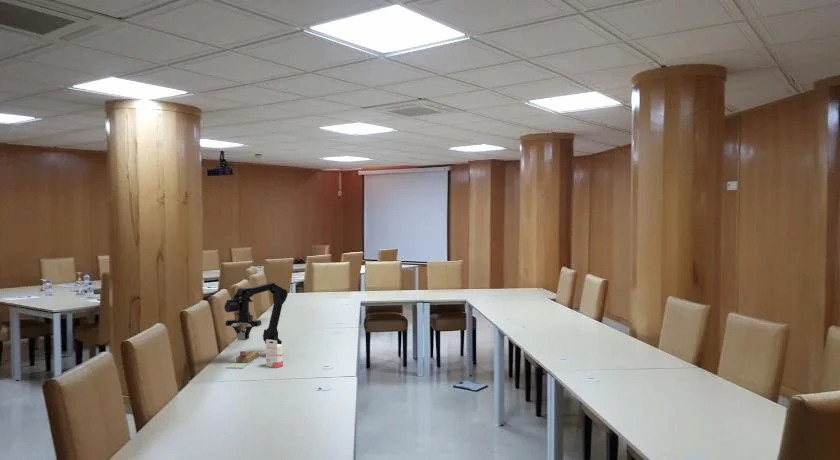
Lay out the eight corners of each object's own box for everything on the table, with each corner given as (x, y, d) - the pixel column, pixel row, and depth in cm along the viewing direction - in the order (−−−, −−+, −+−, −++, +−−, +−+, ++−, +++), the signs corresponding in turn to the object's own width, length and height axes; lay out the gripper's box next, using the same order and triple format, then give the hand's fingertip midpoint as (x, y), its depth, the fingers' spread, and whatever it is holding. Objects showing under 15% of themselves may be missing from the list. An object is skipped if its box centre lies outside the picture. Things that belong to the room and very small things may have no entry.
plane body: (258, 356, 332) (258, 346, 331) (247, 363, 316) (247, 352, 316) (246, 356, 332) (246, 346, 332) (235, 363, 316) (235, 352, 316)
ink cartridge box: (283, 365, 310) (283, 339, 310) (277, 368, 306) (277, 340, 306) (271, 364, 314) (271, 337, 314) (265, 366, 310) (265, 339, 310)
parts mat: (248, 364, 314) (248, 363, 314) (242, 368, 305) (242, 367, 305) (232, 364, 315) (232, 363, 315) (226, 368, 306) (225, 367, 306)
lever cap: (249, 338, 322) (249, 329, 322) (244, 340, 316) (244, 331, 316) (242, 338, 322) (242, 329, 322) (237, 340, 316) (237, 331, 316)
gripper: (265, 308, 326) (264, 336, 326) (233, 308, 328) (233, 335, 328) (257, 311, 315) (257, 339, 315) (225, 310, 317) (225, 338, 317)
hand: (243, 338), depth 319 cm, fingers closed on lever cap, 4 cm apart
